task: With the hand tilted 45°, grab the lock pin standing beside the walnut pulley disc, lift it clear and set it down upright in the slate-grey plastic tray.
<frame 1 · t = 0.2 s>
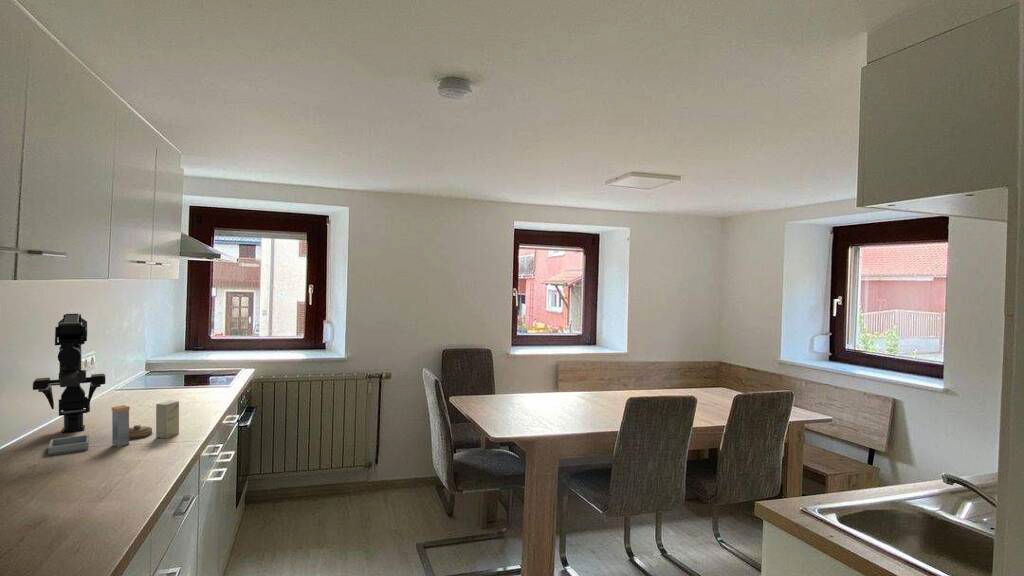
hand: (70, 407, 185), 14 cm above the countertop, tool pointing down, fingers open, 9 cm apart
lock pin: (120, 444, 190), on the countertop
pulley: (137, 435, 201), on the countertop
skincare box: (167, 436, 202), on the countertop
tray: (69, 448, 186), on the countertop
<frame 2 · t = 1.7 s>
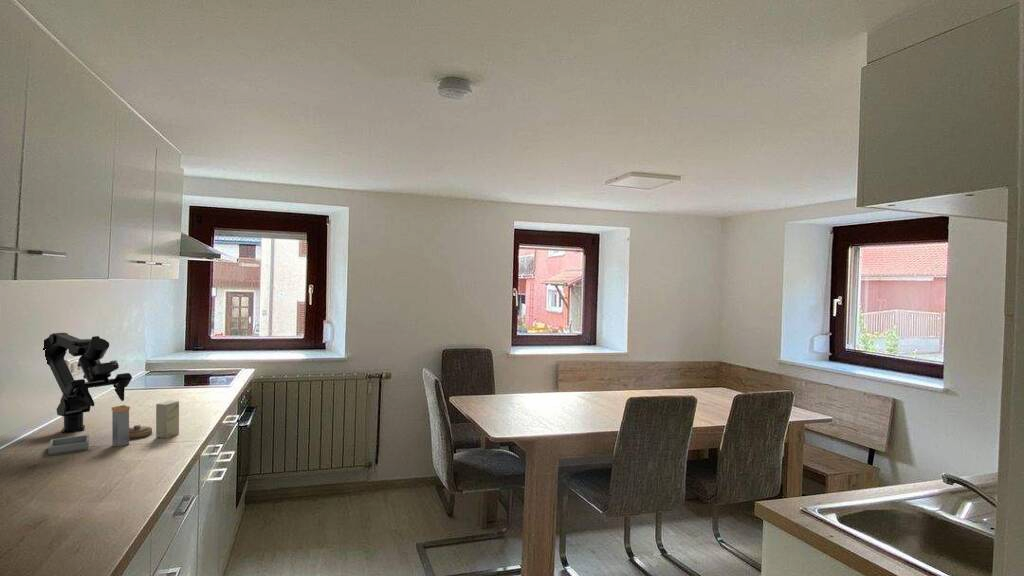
hand: (108, 402, 194), 13 cm above the countertop, tool tilted 45°, fingers open, 9 cm apart
nothing on the countertop moved.
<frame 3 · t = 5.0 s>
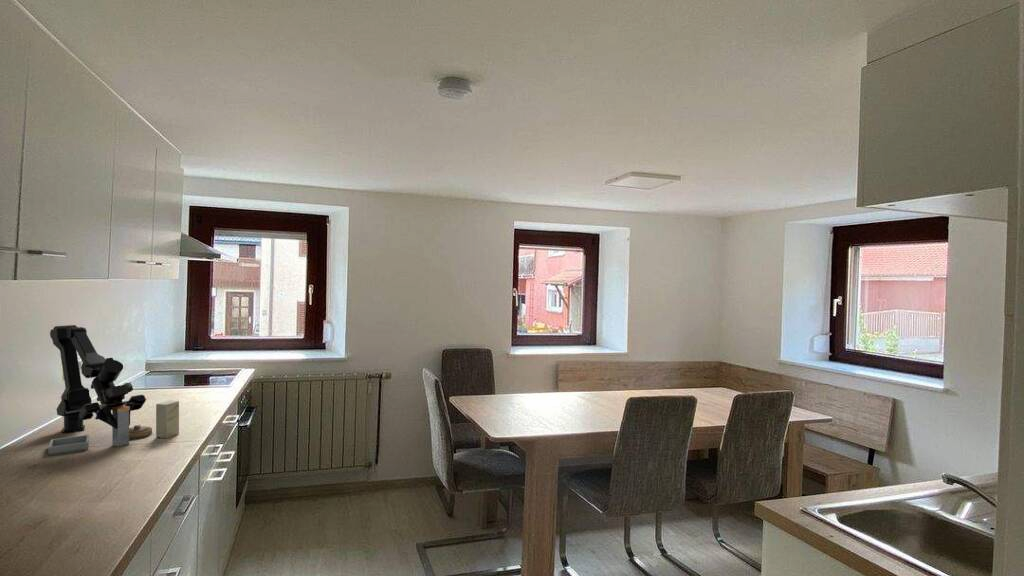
hand: (122, 426, 189), 7 cm above the countertop, tool tilted 45°, fingers closed on lock pin, 3 cm apart
lock pin: (120, 444, 190), on the countertop, touching gripper
everything else where it was.
when the fingers open (9 cm above the countertop, at t = 8.8 s): lock pin drops 1 cm, resting on tray.
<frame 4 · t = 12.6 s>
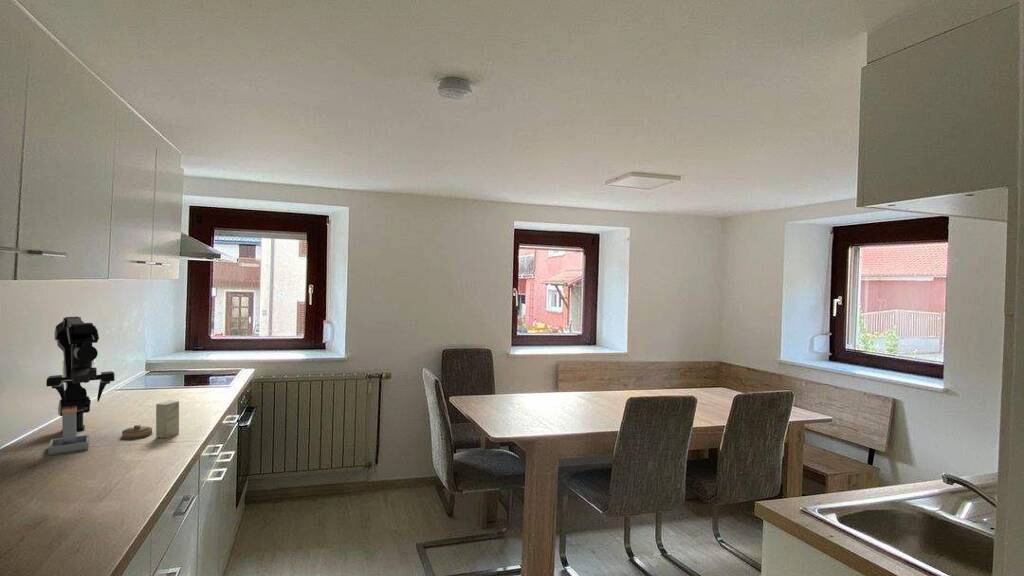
hand: (81, 402, 195), 13 cm above the countertop, tool pointing down, fingers open, 9 cm apart
lock pin: (69, 446, 186), point 1 cm above the countertop, touching tray
everything else where it was.
at the end: lock pin inside the target area on the tray (0.0 cm from its centre), point 0.6 cm above the tray's base; lock pin tilted 0°; the gripper is holding nothing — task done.
